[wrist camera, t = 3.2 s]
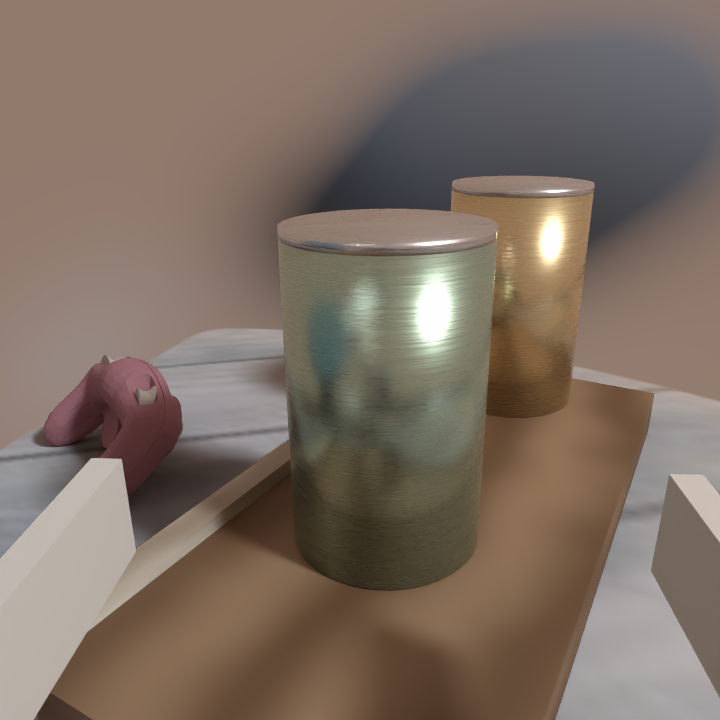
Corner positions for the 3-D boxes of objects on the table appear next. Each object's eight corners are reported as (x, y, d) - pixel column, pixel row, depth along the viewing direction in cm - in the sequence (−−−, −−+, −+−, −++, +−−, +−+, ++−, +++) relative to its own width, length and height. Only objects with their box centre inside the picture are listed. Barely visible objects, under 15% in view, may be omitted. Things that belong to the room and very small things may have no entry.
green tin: (495, 588, 23) (522, 241, 19) (286, 591, 23) (264, 244, 19) (459, 470, 31) (472, 205, 26) (302, 473, 31) (289, 207, 26)
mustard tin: (581, 381, 41) (606, 178, 36) (551, 428, 35) (577, 193, 30) (459, 359, 45) (468, 173, 40) (413, 398, 38) (418, 185, 34)
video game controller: (163, 522, 34) (209, 399, 33) (75, 516, 31) (124, 381, 30) (110, 449, 41) (147, 347, 41) (35, 437, 38) (74, 328, 38)
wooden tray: (13, 717, 21) (-7, 642, 20) (419, 383, 47) (421, 341, 46) (457, 1023, 14) (465, 933, 13) (647, 430, 40) (656, 382, 39)
